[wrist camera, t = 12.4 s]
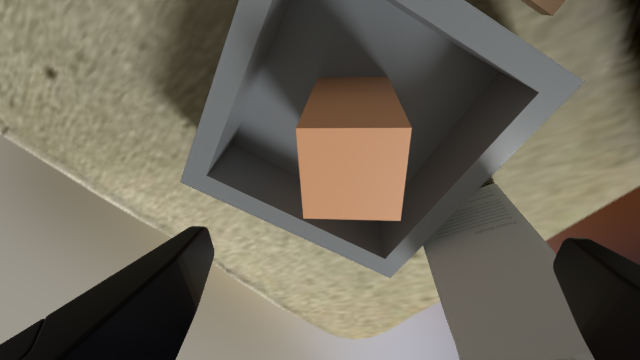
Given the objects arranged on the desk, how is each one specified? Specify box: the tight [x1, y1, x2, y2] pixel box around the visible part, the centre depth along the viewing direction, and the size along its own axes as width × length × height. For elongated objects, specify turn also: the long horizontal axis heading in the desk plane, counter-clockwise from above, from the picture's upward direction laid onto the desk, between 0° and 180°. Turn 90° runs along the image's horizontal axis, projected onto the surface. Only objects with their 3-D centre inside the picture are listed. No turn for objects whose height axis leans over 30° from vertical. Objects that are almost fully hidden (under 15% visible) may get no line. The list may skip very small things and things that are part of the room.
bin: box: [180, 0, 585, 278], centre depth 17 cm, size 14×14×5 cm
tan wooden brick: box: [296, 77, 412, 221], centre depth 15 cm, size 4×4×8 cm
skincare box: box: [423, 184, 595, 360], centre depth 17 cm, size 6×4×12 cm
